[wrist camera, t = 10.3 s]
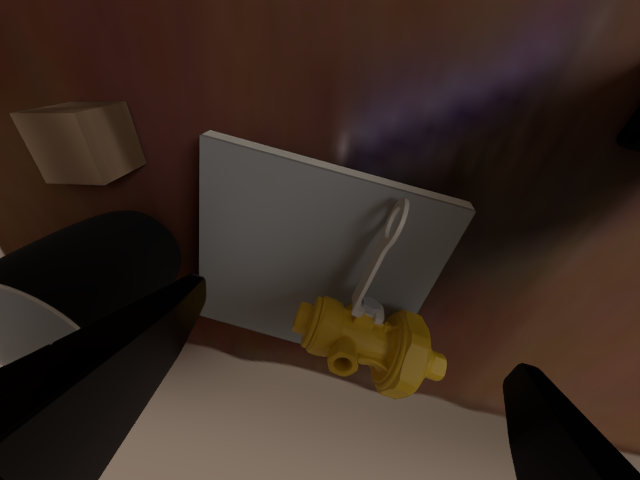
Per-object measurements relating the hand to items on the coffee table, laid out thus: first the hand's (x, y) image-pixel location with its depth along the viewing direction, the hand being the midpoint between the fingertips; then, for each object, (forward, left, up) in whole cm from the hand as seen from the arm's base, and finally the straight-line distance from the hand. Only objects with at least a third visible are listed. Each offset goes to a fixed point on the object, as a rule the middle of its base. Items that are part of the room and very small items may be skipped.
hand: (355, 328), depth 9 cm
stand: (+2, +7, -13) cm, 15 cm away
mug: (+16, +12, -13) cm, 24 cm away
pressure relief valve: (+2, +5, -8) cm, 10 cm away
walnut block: (+17, +2, -13) cm, 22 cm away
